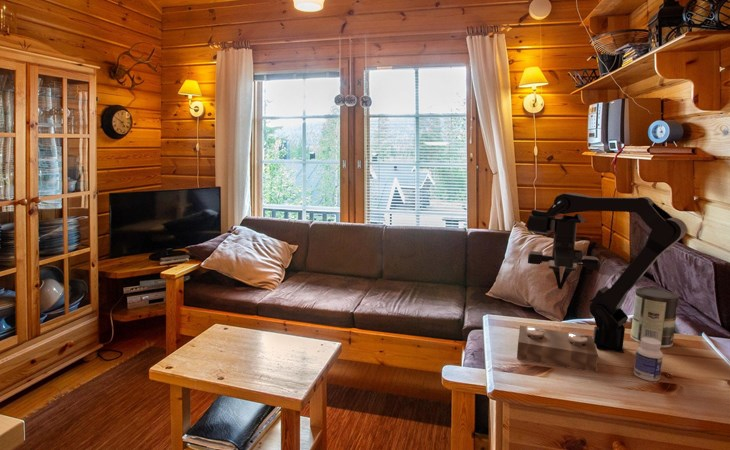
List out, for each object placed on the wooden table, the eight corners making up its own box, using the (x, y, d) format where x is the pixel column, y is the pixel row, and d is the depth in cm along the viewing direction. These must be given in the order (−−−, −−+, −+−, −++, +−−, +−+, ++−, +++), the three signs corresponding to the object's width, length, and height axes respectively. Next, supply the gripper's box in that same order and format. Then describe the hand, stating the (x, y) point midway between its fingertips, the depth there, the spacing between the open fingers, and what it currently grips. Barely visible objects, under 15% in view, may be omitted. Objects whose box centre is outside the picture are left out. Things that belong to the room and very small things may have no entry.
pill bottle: (660, 384, 99) (665, 347, 97) (633, 377, 101) (637, 342, 100) (659, 374, 103) (663, 339, 102) (633, 368, 106) (637, 334, 105)
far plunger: (542, 349, 115) (544, 327, 114) (542, 356, 111) (544, 333, 110) (525, 346, 117) (527, 324, 116) (524, 353, 113) (526, 330, 112)
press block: (590, 352, 115) (592, 336, 114) (596, 372, 104) (597, 354, 103) (518, 340, 121) (520, 325, 120) (516, 358, 110) (518, 341, 109)
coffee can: (662, 334, 127) (668, 288, 125) (680, 349, 117) (687, 299, 115) (624, 331, 129) (629, 286, 127) (638, 345, 119) (644, 296, 117)
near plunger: (584, 356, 112) (586, 333, 111) (586, 363, 108) (588, 340, 107) (565, 353, 113) (567, 330, 112) (566, 360, 109) (569, 337, 108)
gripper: (529, 238, 120) (525, 292, 123) (605, 244, 113) (599, 301, 116) (530, 232, 130) (526, 282, 133) (599, 237, 124) (594, 290, 126)
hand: (559, 288), depth 127 cm, fingers closed
